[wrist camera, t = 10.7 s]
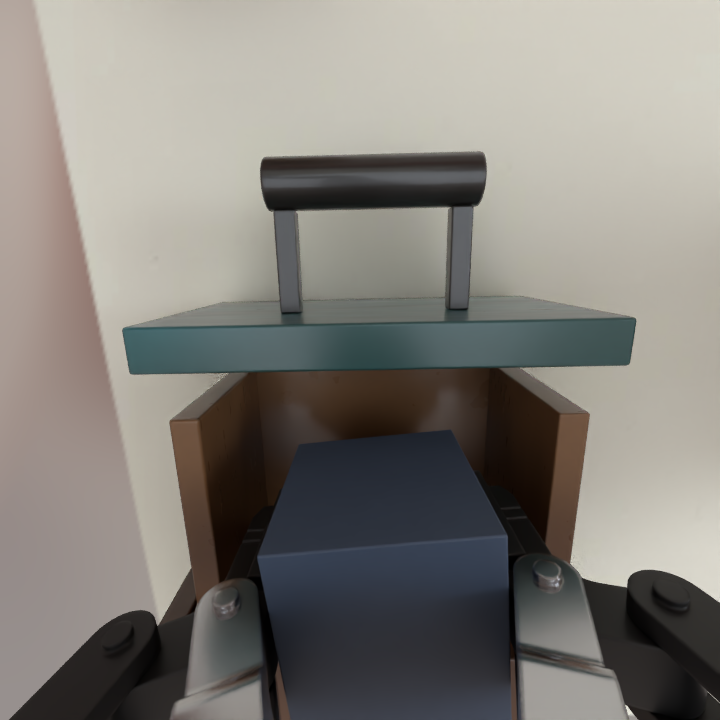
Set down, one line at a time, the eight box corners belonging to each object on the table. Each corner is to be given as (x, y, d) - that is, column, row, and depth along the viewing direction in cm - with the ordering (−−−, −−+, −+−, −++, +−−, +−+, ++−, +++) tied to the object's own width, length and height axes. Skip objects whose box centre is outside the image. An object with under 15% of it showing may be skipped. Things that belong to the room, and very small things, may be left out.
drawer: (210, 190, 15) (85, 128, 8) (531, 182, 15) (670, 112, 8) (245, 521, 18) (179, 665, 12) (504, 518, 18) (585, 662, 12)
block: (319, 571, 13) (293, 740, 8) (298, 443, 11) (255, 557, 7) (459, 559, 12) (512, 724, 8) (451, 428, 11) (508, 534, 7)
